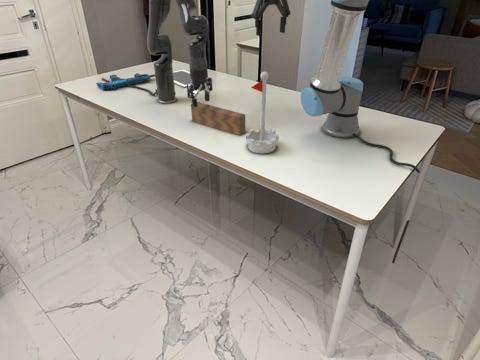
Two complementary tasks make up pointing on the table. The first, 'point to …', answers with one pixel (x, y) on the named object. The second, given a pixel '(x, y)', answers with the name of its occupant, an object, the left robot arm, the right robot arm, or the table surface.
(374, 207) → the table surface
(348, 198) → the table surface
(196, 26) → the left robot arm
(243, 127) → the bar
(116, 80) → the submachine gun
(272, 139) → the flag stand
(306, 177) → the table surface
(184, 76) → the tablet
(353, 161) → the table surface
